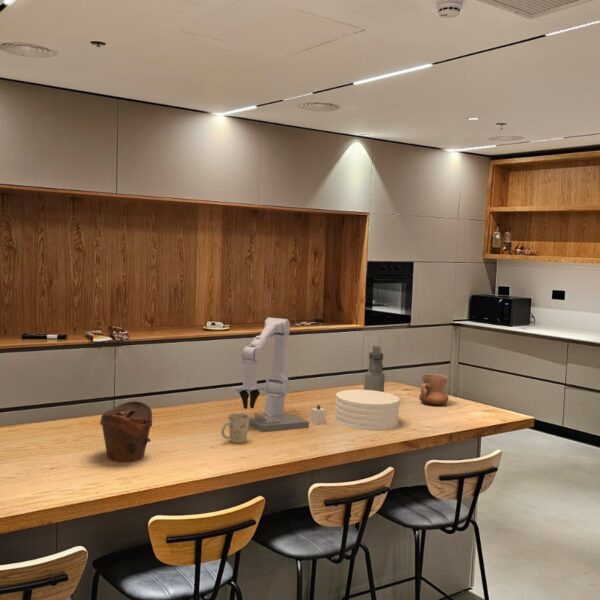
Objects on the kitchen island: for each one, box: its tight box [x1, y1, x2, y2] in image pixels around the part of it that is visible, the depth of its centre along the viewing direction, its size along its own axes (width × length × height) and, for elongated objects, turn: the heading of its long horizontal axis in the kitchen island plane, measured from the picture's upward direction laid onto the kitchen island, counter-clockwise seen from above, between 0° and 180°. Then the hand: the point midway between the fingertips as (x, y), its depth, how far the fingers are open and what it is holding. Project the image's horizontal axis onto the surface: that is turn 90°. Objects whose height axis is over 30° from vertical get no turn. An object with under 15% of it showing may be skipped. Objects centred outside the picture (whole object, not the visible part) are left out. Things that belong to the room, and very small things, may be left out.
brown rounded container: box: [99, 400, 153, 462], centre depth 246 cm, size 18×20×18 cm
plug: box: [310, 404, 327, 425], centre depth 306 cm, size 4×5×8 cm
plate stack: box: [334, 389, 401, 431], centre depth 312 cm, size 28×28×12 cm
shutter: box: [254, 413, 280, 423], centre depth 295 cm, size 8×8×2 cm
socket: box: [249, 413, 310, 433], centre depth 298 cm, size 14×22×2 cm, turn 119°
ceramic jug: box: [418, 373, 449, 406], centre depth 354 cm, size 18×14×14 cm
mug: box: [220, 412, 251, 444], centre depth 271 cm, size 8×13×10 cm, turn 137°
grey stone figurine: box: [363, 345, 386, 392], centre depth 347 cm, size 10×10×28 cm
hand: (248, 408), depth 290 cm, fingers closed
